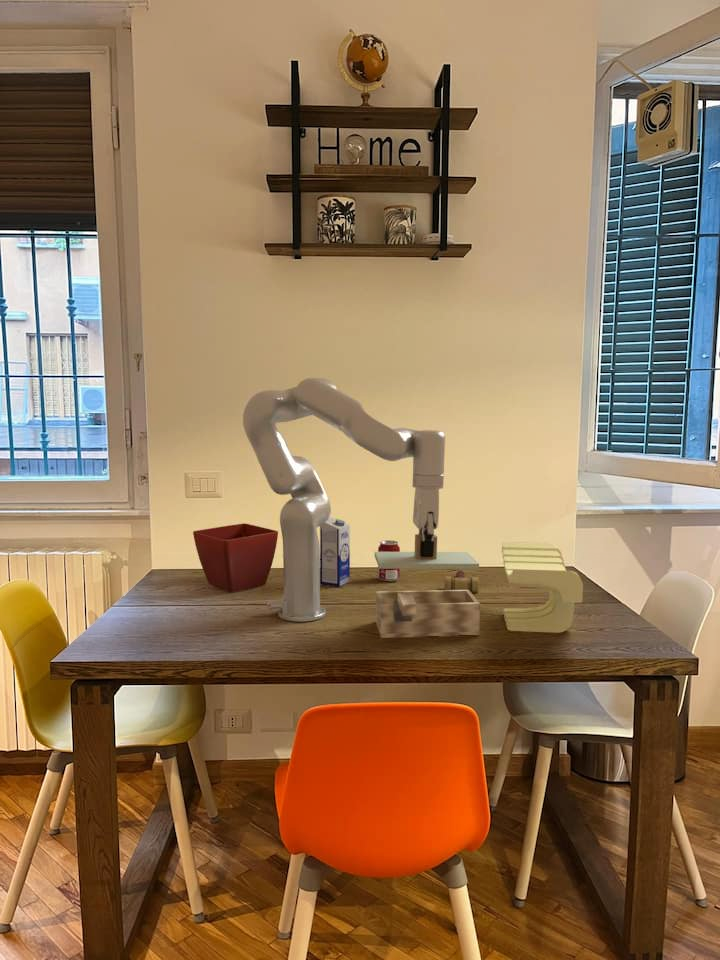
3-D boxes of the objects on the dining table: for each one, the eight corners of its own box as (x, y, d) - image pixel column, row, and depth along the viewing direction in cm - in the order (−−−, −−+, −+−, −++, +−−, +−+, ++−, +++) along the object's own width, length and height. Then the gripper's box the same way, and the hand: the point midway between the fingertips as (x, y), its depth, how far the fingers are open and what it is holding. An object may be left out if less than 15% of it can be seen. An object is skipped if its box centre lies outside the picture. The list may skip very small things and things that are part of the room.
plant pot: (192, 584, 216) (191, 530, 214) (245, 573, 229) (244, 522, 227) (226, 598, 202) (224, 540, 200) (280, 585, 215) (280, 531, 213)
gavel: (444, 565, 229) (475, 566, 228) (444, 579, 229) (475, 580, 228) (444, 577, 208) (478, 579, 207) (444, 593, 208) (478, 594, 207)
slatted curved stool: (580, 645, 165) (583, 571, 163) (511, 642, 167) (513, 569, 165) (559, 606, 195) (561, 543, 193) (500, 604, 197) (502, 541, 195)
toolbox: (382, 642, 167) (382, 604, 166) (376, 621, 182) (376, 586, 181) (482, 639, 169) (483, 602, 168) (467, 619, 184) (468, 585, 183)
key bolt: (402, 615, 157) (403, 604, 157) (397, 603, 166) (397, 593, 166) (416, 615, 157) (416, 604, 157) (410, 603, 166) (410, 592, 166)
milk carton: (331, 579, 222) (330, 516, 220) (350, 581, 219) (350, 518, 217) (319, 584, 216) (319, 520, 214) (339, 587, 213) (339, 522, 211)
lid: (379, 568, 168) (380, 540, 167) (374, 556, 180) (375, 530, 179) (478, 568, 170) (480, 541, 169) (467, 556, 182) (468, 531, 181)
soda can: (400, 582, 219) (400, 544, 217) (378, 582, 219) (378, 544, 217) (398, 576, 225) (399, 539, 224) (377, 576, 225) (377, 539, 224)
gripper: (407, 476, 180) (405, 547, 182) (418, 485, 164) (415, 563, 166) (437, 477, 181) (434, 547, 183) (450, 486, 164) (446, 563, 167)
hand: (425, 554), depth 175 cm, fingers closed on lid, 3 cm apart
